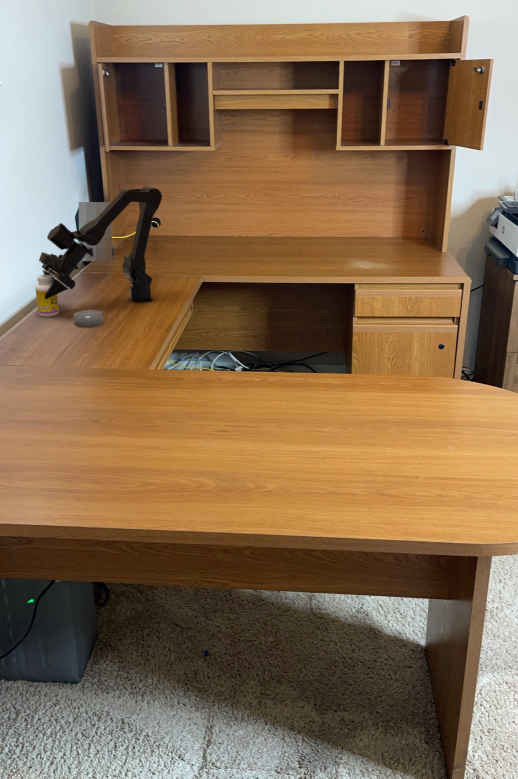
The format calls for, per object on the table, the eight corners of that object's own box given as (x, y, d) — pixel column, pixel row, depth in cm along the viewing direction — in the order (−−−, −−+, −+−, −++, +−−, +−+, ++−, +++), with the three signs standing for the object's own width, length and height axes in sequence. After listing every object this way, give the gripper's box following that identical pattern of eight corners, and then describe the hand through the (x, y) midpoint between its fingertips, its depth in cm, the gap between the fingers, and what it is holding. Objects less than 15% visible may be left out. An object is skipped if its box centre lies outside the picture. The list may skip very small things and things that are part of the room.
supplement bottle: (53, 317, 234) (49, 279, 228) (35, 316, 235) (30, 278, 230) (62, 311, 240) (58, 274, 234) (44, 310, 241) (40, 273, 236)
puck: (99, 317, 234) (98, 308, 233) (106, 325, 227) (105, 316, 225) (72, 320, 231) (71, 312, 229) (77, 329, 223) (76, 319, 222)
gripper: (44, 238, 237) (15, 274, 236) (61, 248, 223) (30, 287, 222) (69, 258, 244) (41, 294, 243) (88, 270, 229) (58, 308, 229)
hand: (42, 295), depth 234 cm, fingers closed on supplement bottle, 6 cm apart
